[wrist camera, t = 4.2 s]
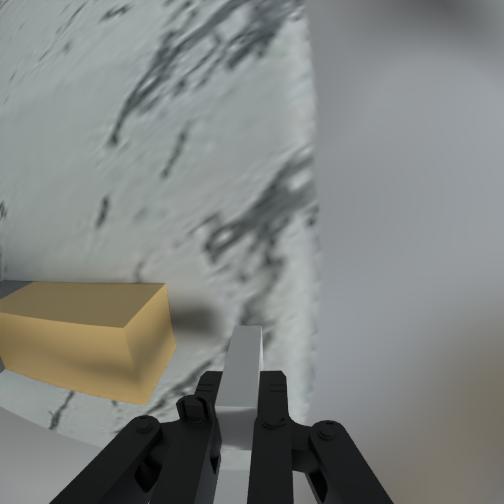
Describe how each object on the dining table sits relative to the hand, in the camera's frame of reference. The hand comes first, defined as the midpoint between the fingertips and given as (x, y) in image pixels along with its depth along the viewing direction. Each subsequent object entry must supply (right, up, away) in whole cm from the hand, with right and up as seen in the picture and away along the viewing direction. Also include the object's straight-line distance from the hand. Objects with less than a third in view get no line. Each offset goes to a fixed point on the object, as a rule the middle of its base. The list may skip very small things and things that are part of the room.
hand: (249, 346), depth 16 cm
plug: (-14, 0, +4) cm, 15 cm away
